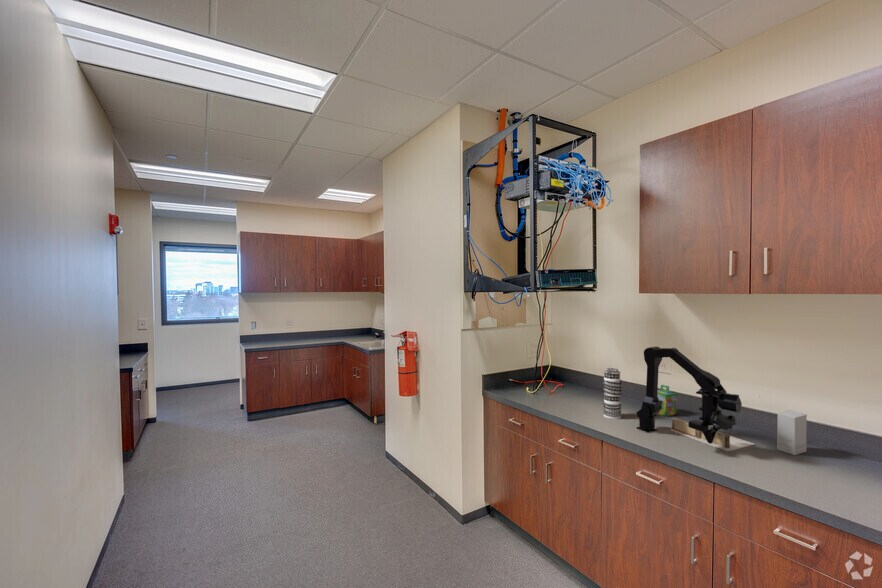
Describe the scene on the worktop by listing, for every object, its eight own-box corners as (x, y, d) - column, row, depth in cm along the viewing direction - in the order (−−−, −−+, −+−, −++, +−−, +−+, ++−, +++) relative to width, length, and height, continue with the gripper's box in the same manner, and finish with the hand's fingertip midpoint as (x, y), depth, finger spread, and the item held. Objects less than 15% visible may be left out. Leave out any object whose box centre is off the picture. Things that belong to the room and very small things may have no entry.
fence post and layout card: (728, 451, 160) (728, 437, 160) (668, 429, 186) (668, 417, 185) (754, 444, 167) (754, 431, 167) (693, 424, 192) (693, 413, 192)
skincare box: (788, 446, 165) (789, 409, 165) (808, 452, 159) (808, 414, 158) (776, 449, 162) (776, 412, 162) (795, 455, 156) (795, 417, 155)
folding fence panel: (701, 438, 173) (701, 427, 173) (703, 438, 174) (703, 427, 174) (728, 448, 163) (727, 436, 163) (730, 447, 163) (730, 436, 163)
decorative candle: (625, 418, 202) (625, 370, 201) (609, 419, 200) (609, 371, 200) (615, 413, 211) (615, 366, 210) (599, 414, 209) (599, 367, 209)
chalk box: (650, 412, 212) (650, 384, 212) (661, 409, 216) (661, 382, 216) (666, 417, 204) (666, 388, 203) (677, 414, 207) (677, 386, 207)
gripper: (714, 414, 153) (714, 454, 153) (745, 408, 160) (745, 446, 160) (687, 407, 163) (687, 444, 163) (717, 401, 170) (717, 437, 170)
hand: (710, 443), depth 164 cm, fingers closed
